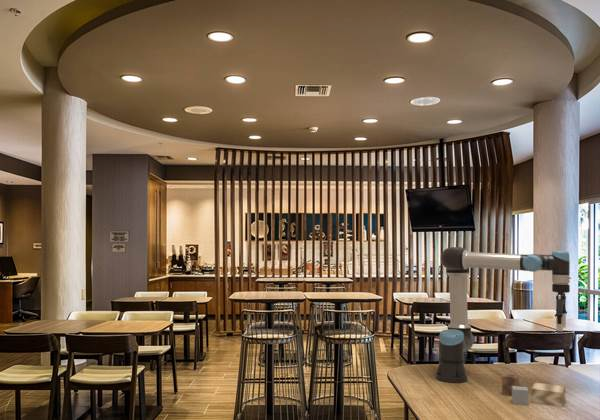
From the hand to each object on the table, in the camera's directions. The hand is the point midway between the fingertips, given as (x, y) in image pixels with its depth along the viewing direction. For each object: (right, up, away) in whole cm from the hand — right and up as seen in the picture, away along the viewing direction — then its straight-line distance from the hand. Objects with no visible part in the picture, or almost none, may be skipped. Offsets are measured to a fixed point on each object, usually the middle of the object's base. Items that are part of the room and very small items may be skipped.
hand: (561, 329), depth 267 cm
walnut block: (-29, -26, -14) cm, 41 cm away
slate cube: (-30, -25, -27) cm, 48 cm away
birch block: (-17, -26, -25) cm, 39 cm away
